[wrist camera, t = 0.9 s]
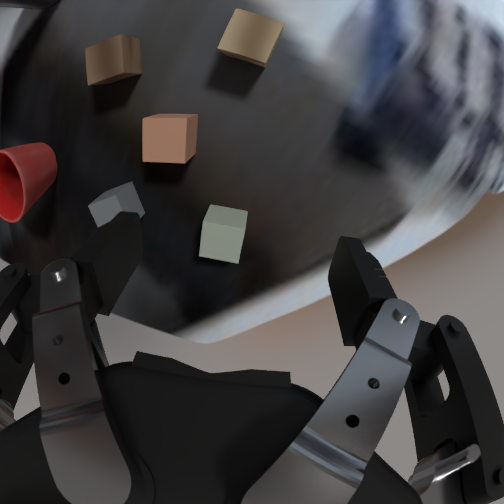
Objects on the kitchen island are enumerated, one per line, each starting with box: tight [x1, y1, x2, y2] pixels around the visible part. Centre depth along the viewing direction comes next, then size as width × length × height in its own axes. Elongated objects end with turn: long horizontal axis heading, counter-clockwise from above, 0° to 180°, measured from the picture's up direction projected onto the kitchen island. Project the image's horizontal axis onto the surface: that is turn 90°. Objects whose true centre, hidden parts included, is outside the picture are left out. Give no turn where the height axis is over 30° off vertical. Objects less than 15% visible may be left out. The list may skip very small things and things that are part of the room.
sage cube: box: [199, 204, 248, 263], centre depth 35 cm, size 5×5×5 cm
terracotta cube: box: [143, 114, 198, 163], centre depth 28 cm, size 5×5×5 cm
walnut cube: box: [85, 34, 142, 85], centre depth 23 cm, size 5×5×5 cm
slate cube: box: [88, 182, 145, 227], centre depth 34 cm, size 5×5×5 cm
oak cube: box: [218, 8, 285, 68], centre depth 22 cm, size 5×5×5 cm
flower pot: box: [0, 143, 58, 223], centre depth 28 cm, size 11×11×10 cm
